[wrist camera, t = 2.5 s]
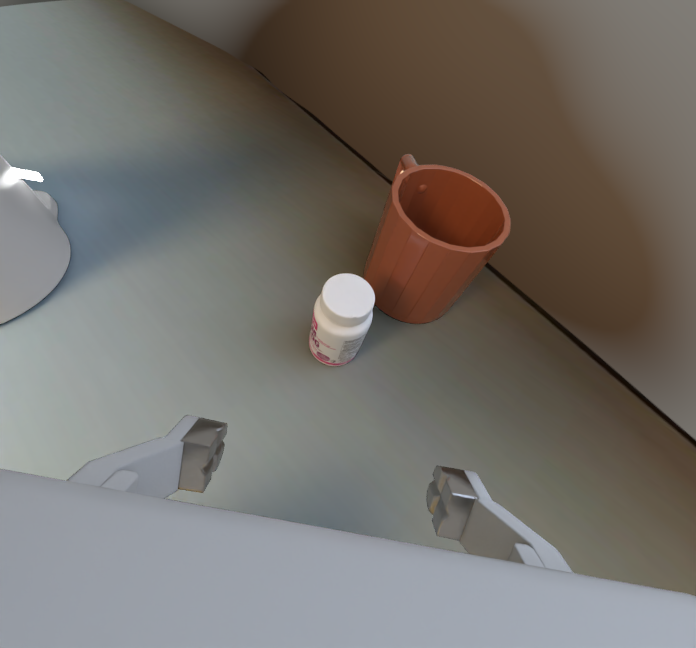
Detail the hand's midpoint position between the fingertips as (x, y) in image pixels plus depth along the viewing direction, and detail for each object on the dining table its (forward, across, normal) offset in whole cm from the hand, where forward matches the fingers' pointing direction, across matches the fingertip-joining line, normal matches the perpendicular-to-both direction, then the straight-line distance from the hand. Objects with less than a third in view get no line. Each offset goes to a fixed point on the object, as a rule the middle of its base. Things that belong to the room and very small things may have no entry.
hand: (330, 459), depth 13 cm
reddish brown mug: (+27, -6, -7) cm, 28 cm away
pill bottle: (+19, 0, +2) cm, 19 cm away
